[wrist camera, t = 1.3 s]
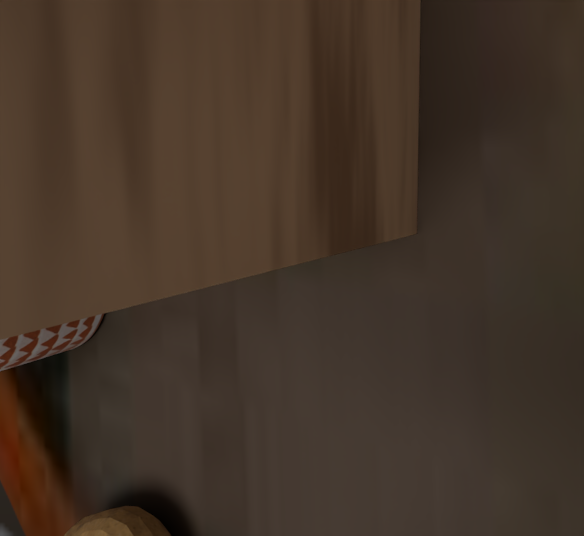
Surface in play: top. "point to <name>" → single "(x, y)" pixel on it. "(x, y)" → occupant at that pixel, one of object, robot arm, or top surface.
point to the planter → (46, 341)
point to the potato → (119, 524)
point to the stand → (196, 144)
